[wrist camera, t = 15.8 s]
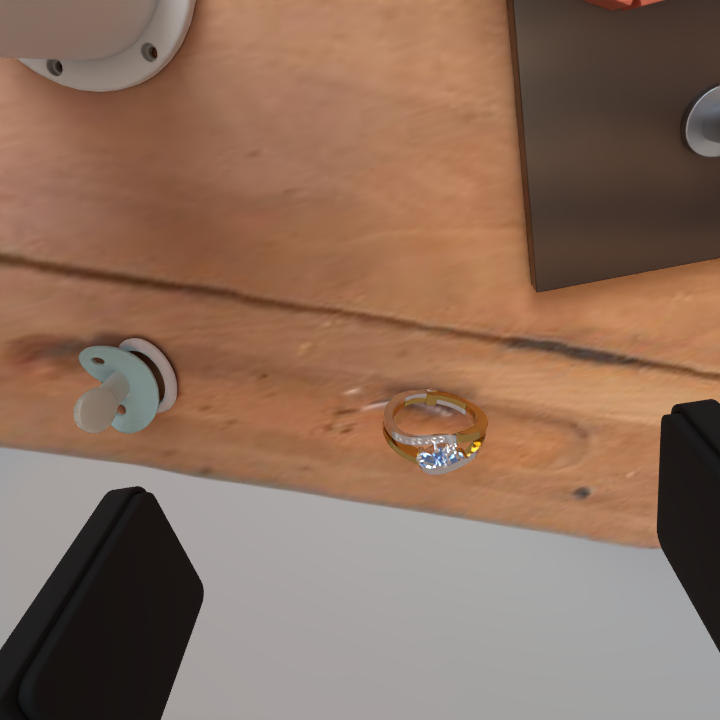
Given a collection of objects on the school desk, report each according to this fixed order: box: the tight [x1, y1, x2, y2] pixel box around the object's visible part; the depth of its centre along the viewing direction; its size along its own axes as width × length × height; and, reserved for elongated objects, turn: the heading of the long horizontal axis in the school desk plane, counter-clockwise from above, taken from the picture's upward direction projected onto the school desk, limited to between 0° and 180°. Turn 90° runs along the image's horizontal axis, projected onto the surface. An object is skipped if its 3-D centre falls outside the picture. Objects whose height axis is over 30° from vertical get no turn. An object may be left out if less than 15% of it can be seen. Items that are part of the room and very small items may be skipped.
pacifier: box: [74, 338, 177, 433], centre depth 37 cm, size 7×6×6 cm
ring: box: [383, 388, 488, 475], centre depth 36 cm, size 7×3×8 cm, turn 84°
